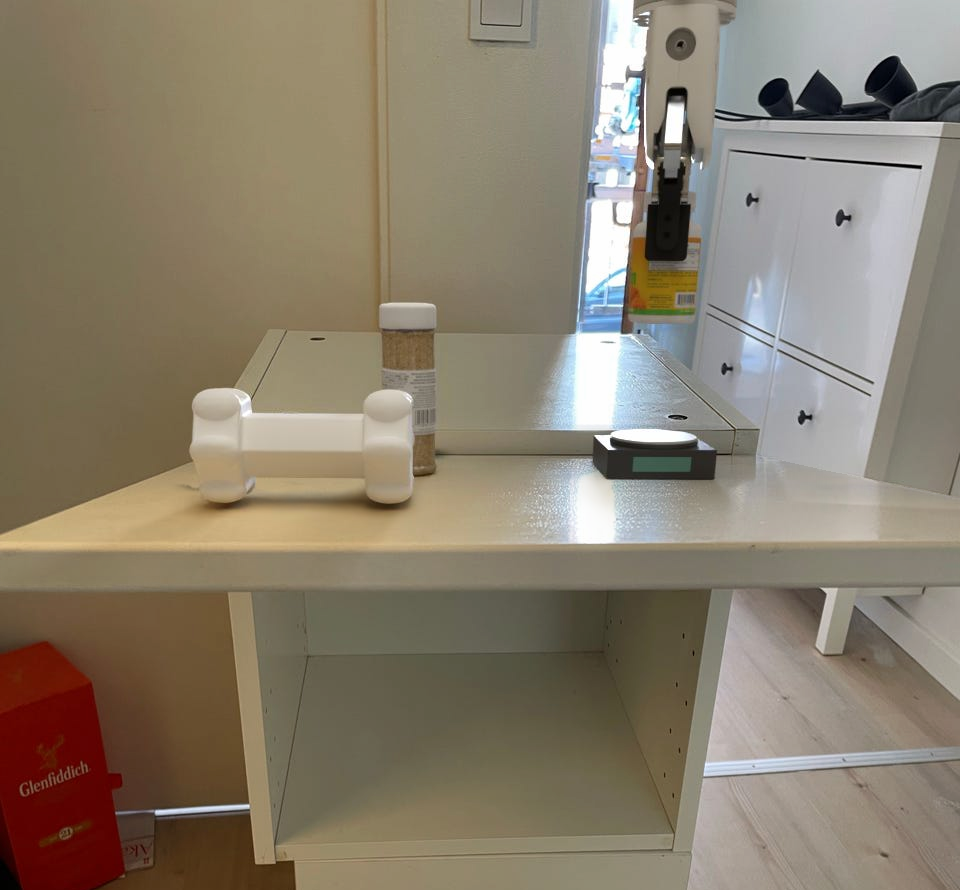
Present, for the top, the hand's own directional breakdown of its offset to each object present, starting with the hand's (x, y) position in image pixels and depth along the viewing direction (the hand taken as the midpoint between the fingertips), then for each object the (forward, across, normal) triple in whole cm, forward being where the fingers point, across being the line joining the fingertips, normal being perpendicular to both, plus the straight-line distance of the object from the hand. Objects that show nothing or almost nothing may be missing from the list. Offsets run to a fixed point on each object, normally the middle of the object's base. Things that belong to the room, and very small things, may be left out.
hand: (666, 259), depth 78 cm
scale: (+17, 0, 0) cm, 17 cm away
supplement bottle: (+5, 0, 0) cm, 5 cm away
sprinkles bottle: (+17, -6, +20) cm, 27 cm away
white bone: (+17, -19, +24) cm, 35 cm away
